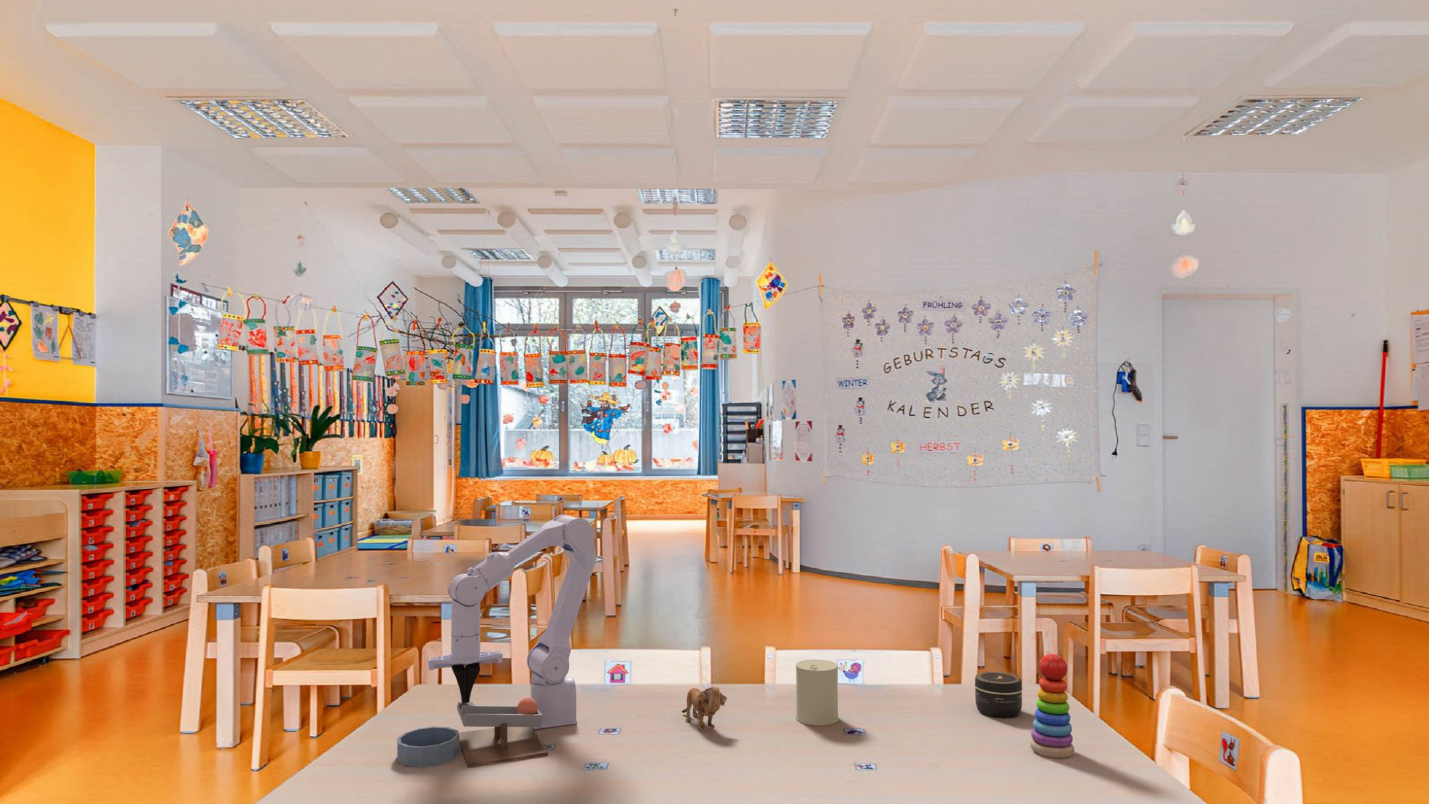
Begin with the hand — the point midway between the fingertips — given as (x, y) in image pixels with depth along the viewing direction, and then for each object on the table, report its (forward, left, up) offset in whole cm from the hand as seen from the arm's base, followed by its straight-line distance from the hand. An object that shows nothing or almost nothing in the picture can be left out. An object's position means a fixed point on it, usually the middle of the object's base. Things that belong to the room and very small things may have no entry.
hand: (465, 701), depth 177 cm
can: (-72, +18, -8) cm, 74 cm away
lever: (-6, +4, -3) cm, 8 cm away
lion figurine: (-48, +11, -8) cm, 49 cm away
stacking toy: (-104, +53, -8) cm, 117 cm away
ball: (-11, +7, -1) cm, 13 cm away
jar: (-111, +30, -8) cm, 115 cm away
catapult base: (-6, +7, -7) cm, 12 cm away
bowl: (+8, +7, -7) cm, 13 cm away
